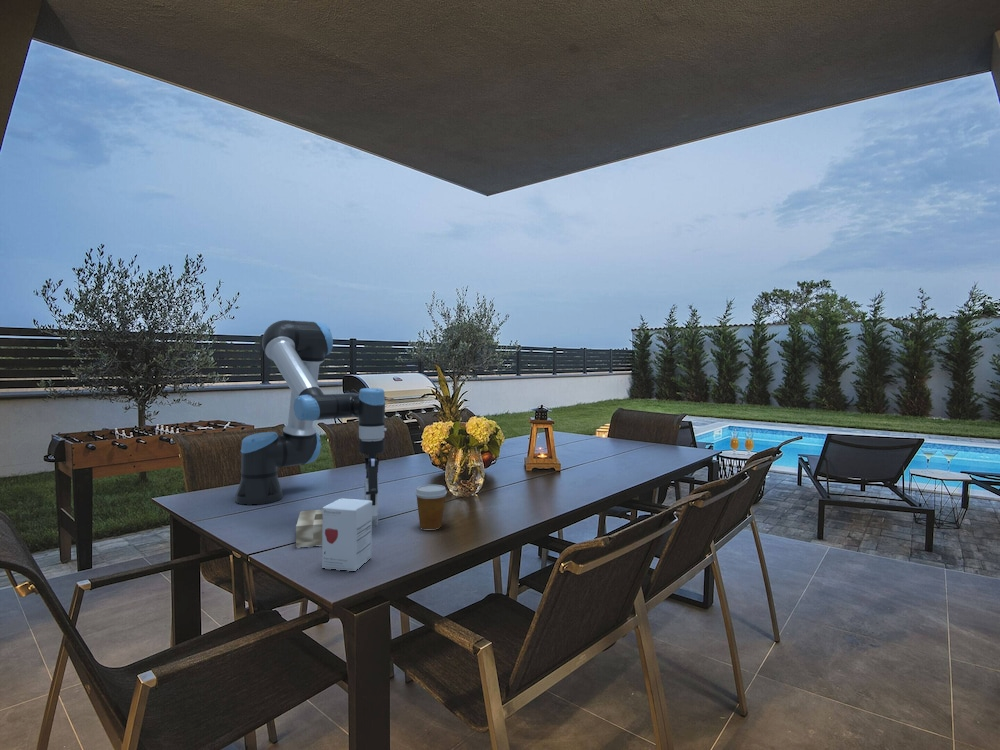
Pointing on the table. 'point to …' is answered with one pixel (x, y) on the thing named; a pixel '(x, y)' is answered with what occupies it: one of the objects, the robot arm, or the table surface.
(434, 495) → the disposable coffee cup
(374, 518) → the peg
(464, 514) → the table surface
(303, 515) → the bore block
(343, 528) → the supplement box
